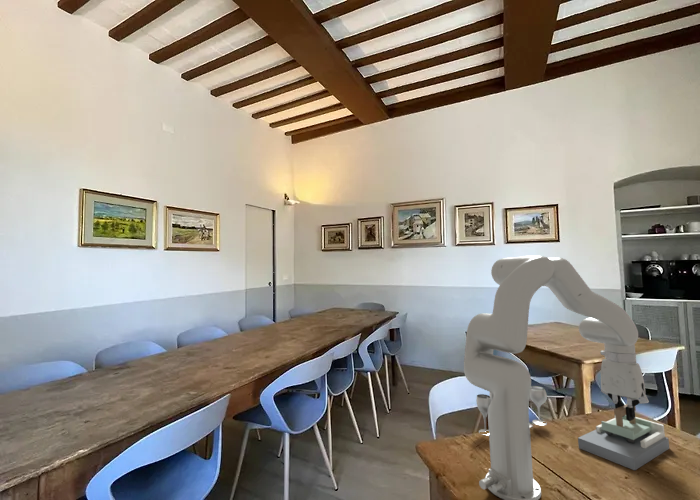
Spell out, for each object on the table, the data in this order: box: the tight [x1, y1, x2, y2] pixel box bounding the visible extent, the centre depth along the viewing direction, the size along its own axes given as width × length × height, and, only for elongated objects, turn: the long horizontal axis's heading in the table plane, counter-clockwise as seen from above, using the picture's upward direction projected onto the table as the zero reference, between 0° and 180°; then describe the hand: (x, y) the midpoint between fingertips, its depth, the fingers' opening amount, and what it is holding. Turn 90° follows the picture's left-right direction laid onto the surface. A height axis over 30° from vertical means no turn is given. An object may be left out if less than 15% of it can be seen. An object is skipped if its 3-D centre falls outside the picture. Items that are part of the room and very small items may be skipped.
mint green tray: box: [600, 403, 652, 443], centre depth 103 cm, size 12×8×8 cm, turn 119°
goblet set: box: [476, 385, 548, 436], centre depth 118 cm, size 28×6×13 cm, turn 106°
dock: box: [577, 415, 670, 471], centre depth 102 cm, size 22×14×6 cm, turn 119°
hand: (625, 417), depth 104 cm, fingers closed on mint green tray
